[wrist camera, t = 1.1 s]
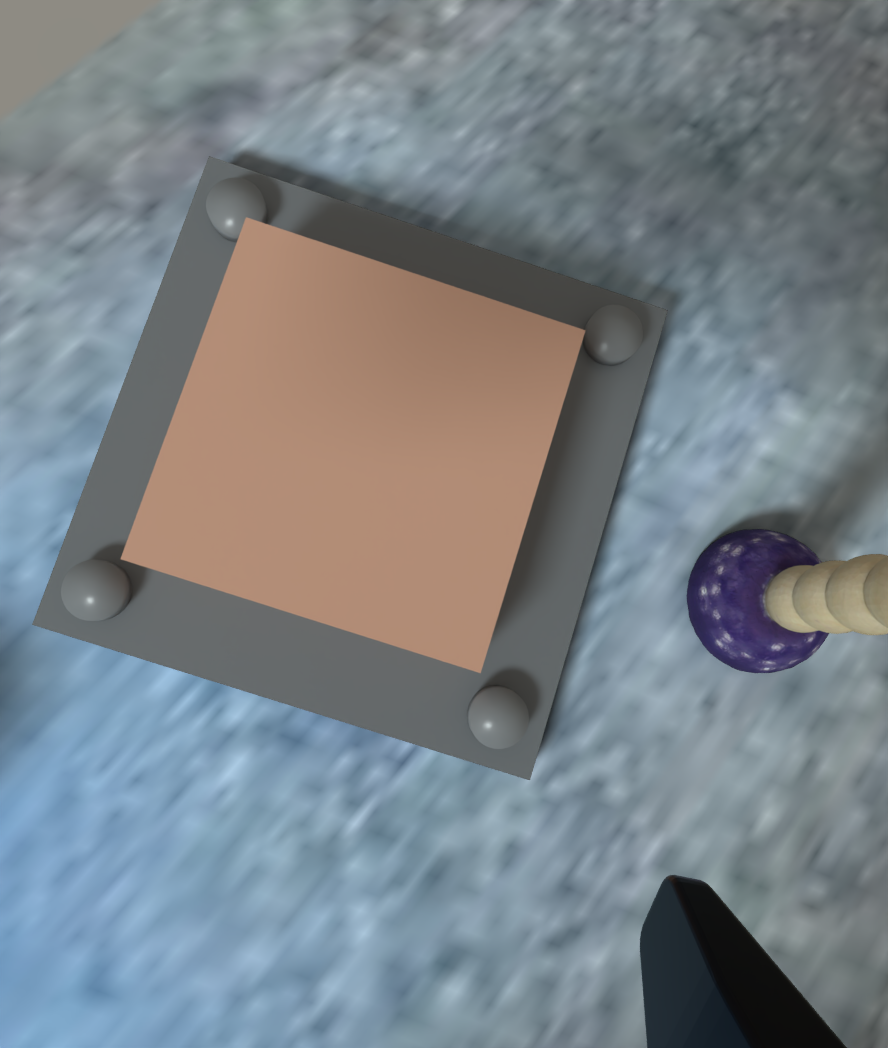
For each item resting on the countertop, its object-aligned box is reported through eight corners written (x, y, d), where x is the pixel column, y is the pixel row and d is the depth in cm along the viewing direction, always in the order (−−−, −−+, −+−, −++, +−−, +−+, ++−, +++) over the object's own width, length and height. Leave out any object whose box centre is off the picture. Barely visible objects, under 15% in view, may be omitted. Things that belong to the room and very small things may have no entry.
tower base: (523, 771, 22) (548, 806, 18) (49, 623, 21) (-21, 628, 18) (656, 322, 23) (704, 272, 20) (217, 175, 23) (184, 96, 19)
